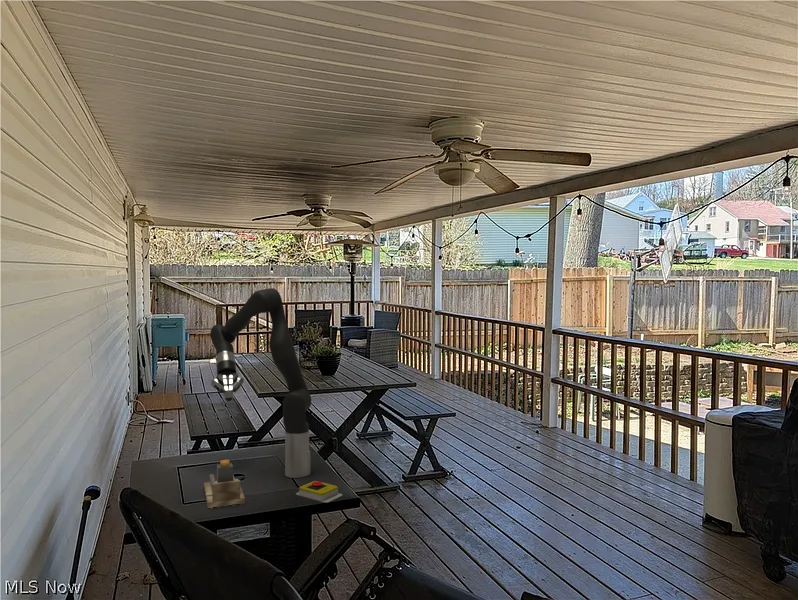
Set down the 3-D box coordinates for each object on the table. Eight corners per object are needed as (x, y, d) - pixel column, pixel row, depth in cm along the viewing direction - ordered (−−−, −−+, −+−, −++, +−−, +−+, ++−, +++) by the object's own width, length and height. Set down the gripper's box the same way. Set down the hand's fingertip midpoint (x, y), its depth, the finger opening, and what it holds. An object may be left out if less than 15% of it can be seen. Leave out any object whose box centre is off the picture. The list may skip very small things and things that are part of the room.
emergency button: (312, 476, 212) (343, 484, 204) (312, 488, 212) (343, 496, 204) (294, 483, 204) (326, 491, 196) (294, 495, 204) (326, 504, 196)
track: (237, 484, 214) (237, 462, 214) (244, 503, 195) (244, 480, 195) (204, 488, 210) (204, 466, 210) (207, 508, 190) (207, 485, 190)
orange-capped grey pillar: (231, 491, 200) (231, 458, 200) (233, 495, 197) (233, 461, 196) (217, 493, 199) (216, 460, 198) (217, 497, 195) (217, 463, 195)
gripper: (209, 359, 228) (211, 395, 217) (243, 358, 233) (247, 393, 222) (208, 371, 233) (210, 406, 222) (241, 369, 238) (245, 404, 227)
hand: (229, 400), depth 222 cm, fingers closed
